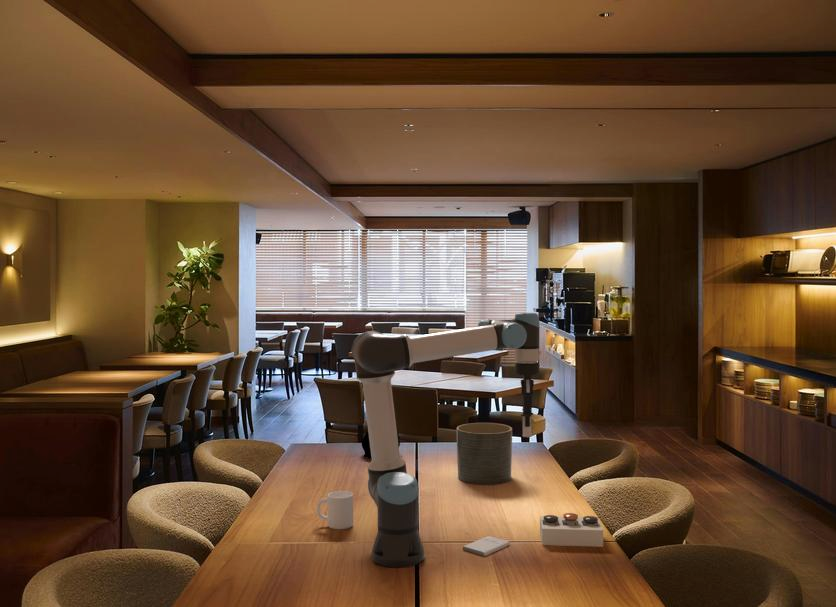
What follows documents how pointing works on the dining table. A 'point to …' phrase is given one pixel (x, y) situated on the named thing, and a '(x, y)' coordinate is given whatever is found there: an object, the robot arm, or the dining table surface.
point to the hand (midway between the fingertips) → (527, 436)
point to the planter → (484, 453)
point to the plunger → (590, 520)
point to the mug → (338, 509)
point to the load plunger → (570, 519)
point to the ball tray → (571, 533)
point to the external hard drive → (486, 545)
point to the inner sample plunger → (550, 520)
